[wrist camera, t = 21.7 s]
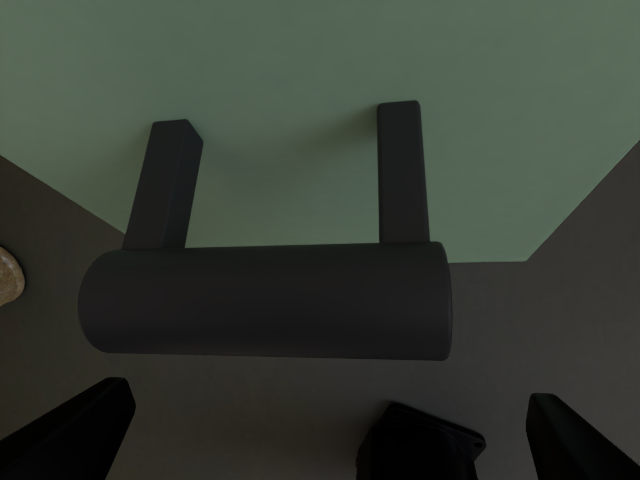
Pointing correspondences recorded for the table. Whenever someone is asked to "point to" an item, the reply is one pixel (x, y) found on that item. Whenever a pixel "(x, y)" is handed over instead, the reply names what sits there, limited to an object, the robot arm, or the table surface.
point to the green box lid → (311, 156)
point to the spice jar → (10, 277)
